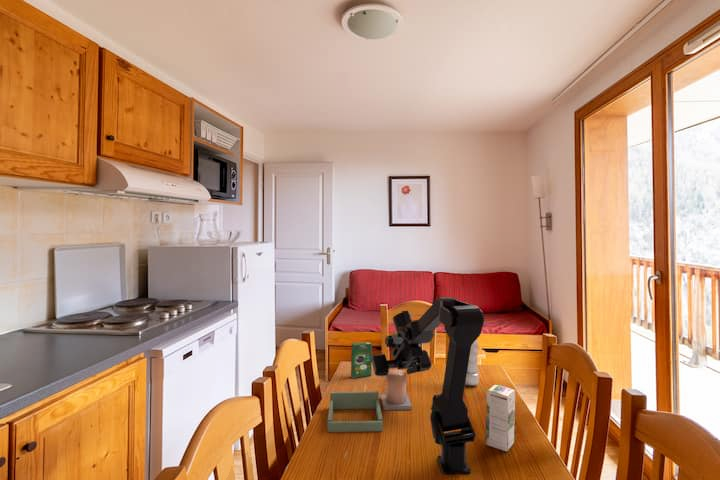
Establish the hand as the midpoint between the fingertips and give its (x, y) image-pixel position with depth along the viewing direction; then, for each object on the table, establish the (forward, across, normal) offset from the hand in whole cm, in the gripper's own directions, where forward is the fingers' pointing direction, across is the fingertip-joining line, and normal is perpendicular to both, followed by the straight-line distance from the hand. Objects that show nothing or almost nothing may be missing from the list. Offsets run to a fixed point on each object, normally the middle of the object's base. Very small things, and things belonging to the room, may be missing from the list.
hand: (394, 374), depth 126 cm
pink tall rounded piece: (+5, 0, +6) cm, 8 cm away
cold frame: (+1, +16, +12) cm, 20 cm away
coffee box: (+25, +4, -12) cm, 28 cm away
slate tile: (+6, 0, +7) cm, 9 cm away
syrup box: (-16, -17, +29) cm, 38 cm away
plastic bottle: (+11, -32, +2) cm, 34 cm away
